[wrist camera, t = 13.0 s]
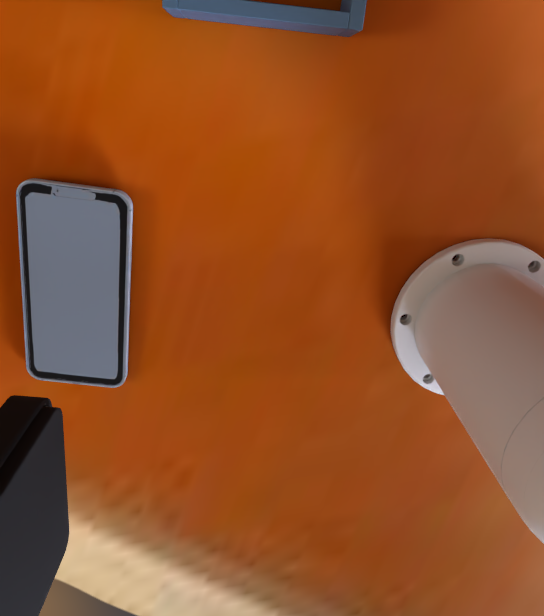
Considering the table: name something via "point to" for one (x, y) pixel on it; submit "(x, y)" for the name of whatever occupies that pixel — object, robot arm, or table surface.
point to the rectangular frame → (274, 15)
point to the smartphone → (75, 281)
